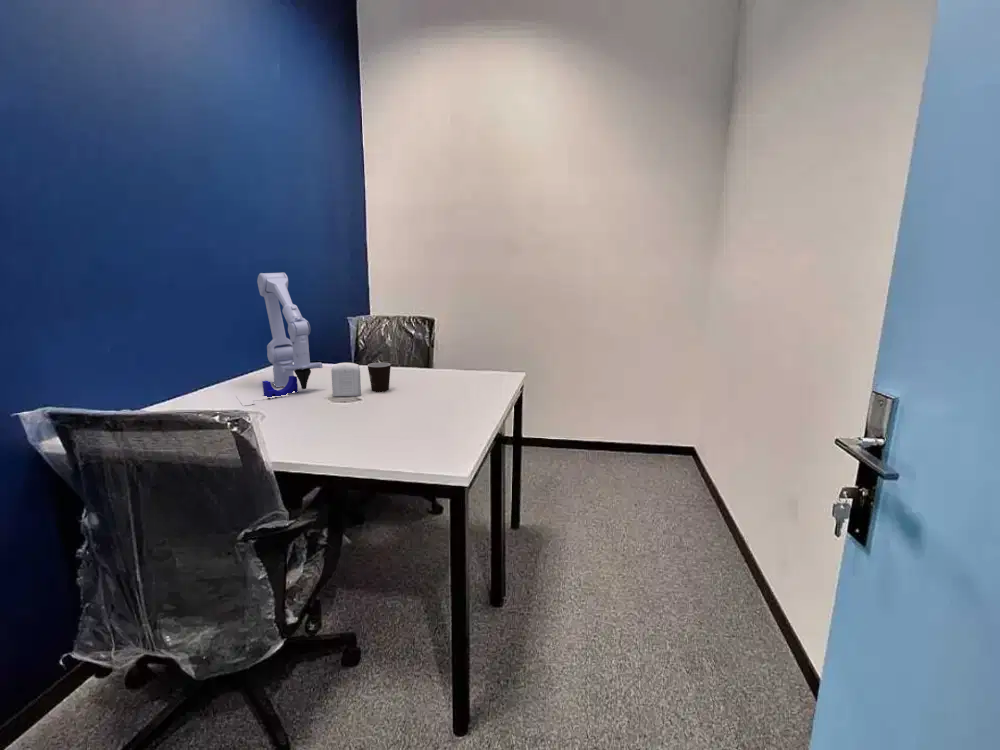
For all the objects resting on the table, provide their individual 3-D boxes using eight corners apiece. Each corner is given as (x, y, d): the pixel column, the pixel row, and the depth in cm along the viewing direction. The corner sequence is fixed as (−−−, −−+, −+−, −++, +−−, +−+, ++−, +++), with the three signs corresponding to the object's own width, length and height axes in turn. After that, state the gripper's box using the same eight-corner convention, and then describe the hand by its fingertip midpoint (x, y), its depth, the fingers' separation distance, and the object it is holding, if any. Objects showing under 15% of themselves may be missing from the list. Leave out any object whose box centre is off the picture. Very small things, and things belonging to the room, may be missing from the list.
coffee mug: (389, 393, 211) (388, 367, 209) (366, 393, 212) (365, 367, 209) (395, 385, 223) (394, 361, 221) (373, 385, 223) (372, 360, 221)
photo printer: (362, 393, 211) (360, 361, 208) (360, 396, 207) (358, 363, 204) (333, 394, 210) (331, 362, 207) (332, 397, 206) (329, 364, 203)
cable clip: (270, 399, 202) (268, 383, 201) (263, 397, 205) (262, 381, 204) (300, 392, 211) (299, 377, 210) (293, 390, 214) (292, 375, 213)
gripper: (283, 356, 202) (286, 393, 205) (323, 352, 210) (326, 388, 213) (278, 353, 208) (282, 389, 211) (318, 350, 215) (321, 384, 218)
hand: (303, 388), depth 212 cm, fingers closed
